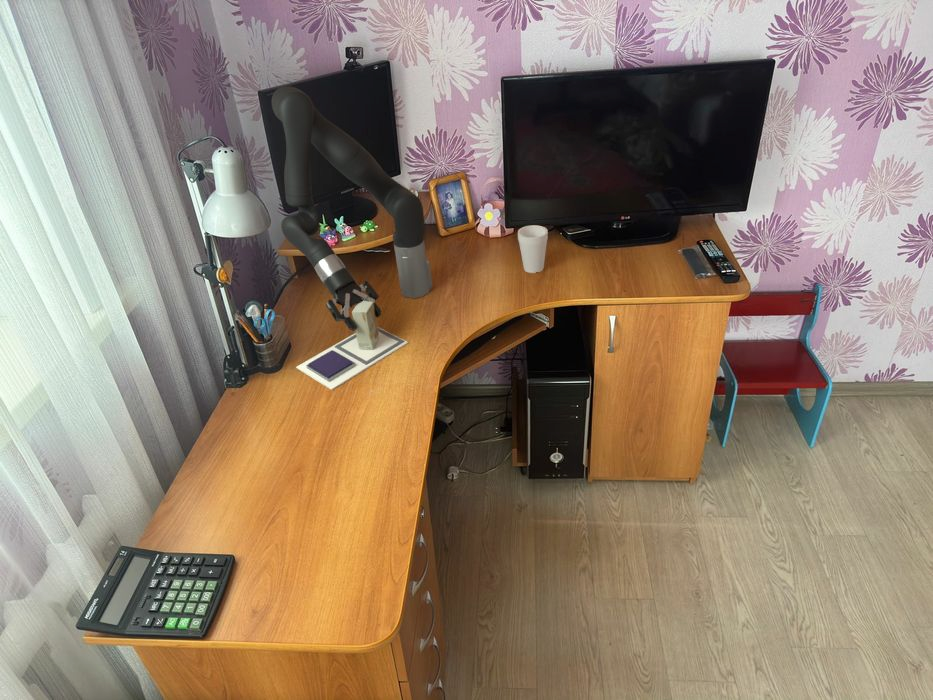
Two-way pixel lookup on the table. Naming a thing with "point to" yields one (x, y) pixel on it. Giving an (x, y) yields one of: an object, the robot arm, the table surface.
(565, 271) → the table surface
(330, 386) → the marked board
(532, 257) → the foam cup
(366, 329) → the skincare box
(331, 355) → the ink pad
